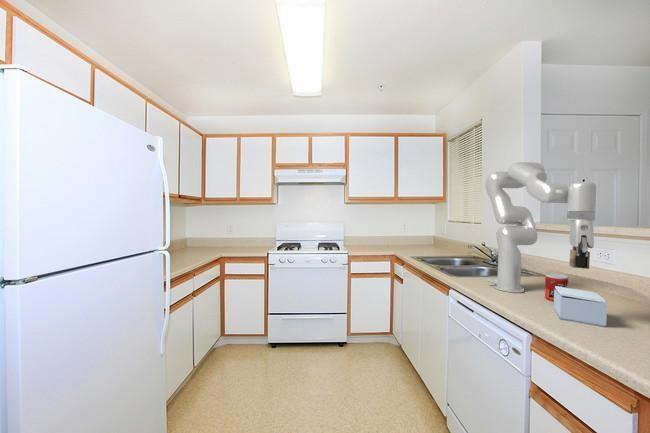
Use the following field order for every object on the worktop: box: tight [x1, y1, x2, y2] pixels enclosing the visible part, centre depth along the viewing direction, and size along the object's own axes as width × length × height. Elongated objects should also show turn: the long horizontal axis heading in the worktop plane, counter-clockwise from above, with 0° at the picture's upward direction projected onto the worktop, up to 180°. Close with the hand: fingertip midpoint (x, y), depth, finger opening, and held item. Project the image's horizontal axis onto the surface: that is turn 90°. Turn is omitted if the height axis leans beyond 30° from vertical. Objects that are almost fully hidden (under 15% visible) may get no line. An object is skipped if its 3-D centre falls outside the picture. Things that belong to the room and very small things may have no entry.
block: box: [569, 249, 591, 270], centre depth 100 cm, size 4×4×6 cm
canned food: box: [544, 272, 569, 303], centre depth 120 cm, size 8×8×11 cm
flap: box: [555, 286, 607, 303], centre depth 100 cm, size 12×11×1 cm
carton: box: [553, 289, 608, 328], centre depth 100 cm, size 12×12×8 cm
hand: (579, 265), depth 100 cm, fingers closed on block, 4 cm apart
